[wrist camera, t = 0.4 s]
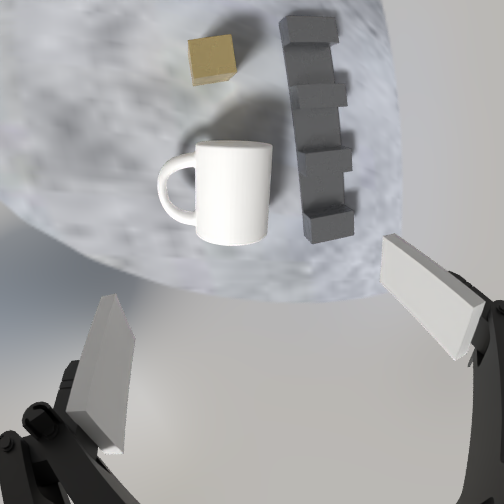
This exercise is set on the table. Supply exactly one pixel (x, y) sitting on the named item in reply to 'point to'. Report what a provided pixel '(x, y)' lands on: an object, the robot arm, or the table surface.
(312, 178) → the rail
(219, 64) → the block
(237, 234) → the mug
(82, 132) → the table surface
